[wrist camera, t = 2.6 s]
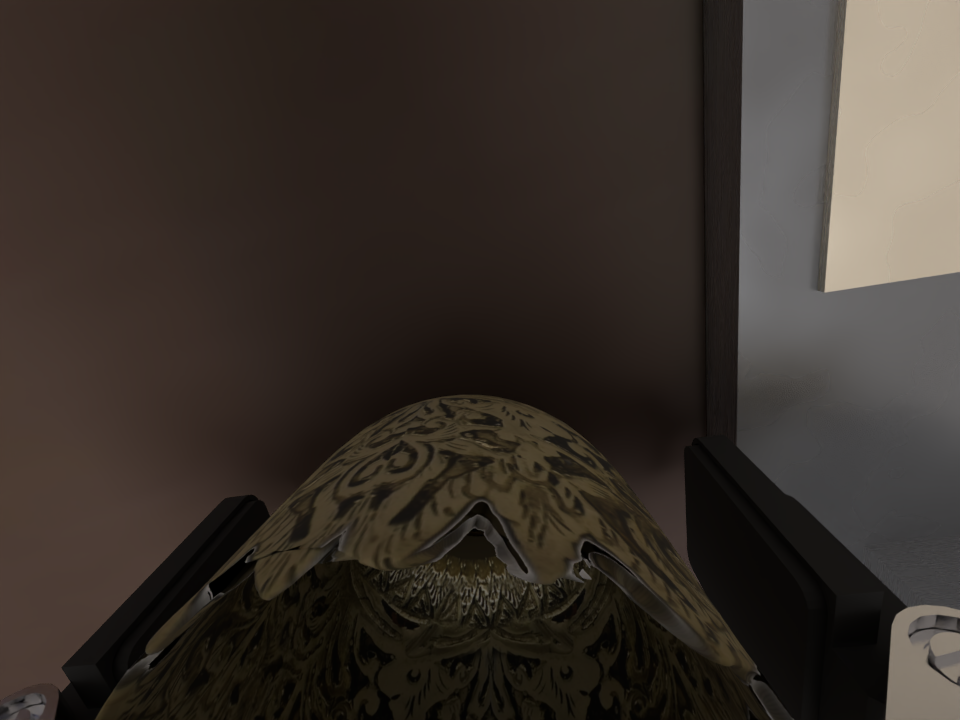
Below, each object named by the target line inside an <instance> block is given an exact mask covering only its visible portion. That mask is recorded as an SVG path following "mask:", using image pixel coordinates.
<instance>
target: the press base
mask: <svg viewBox="0 0 960 720" xmlns="http://www.w3.org/2000/svg"><path fill="white" fill-rule="evenodd" d="M703 35H704V146H705V256H706V367H707V437H708V436H716V435H725V436H726V437H728V438H729V439H730V440H731V441H732V442H733V443H734V444H735V445H736V446H737V447H738V448H739V449H740V450H741V451H742V452H743V453H744V454H745V455H746V456H747V457H748V458H749V459H750V460H751V461H752V462H753V463H754V464H755V465H756V466H757V467H758V468H759V469H760V470H761V471H762V472H763V473H764V474H765V475H766V476H767V477H768V478H769V479H770V480H771V481H772V482H773V483H774V484H775V485H776V486H777V487H778V488H779V489H780V490H781V491H782V492H783V493H785V494H786V495H790V496H792V497H793V498H795V499H796V500H797V501H798V502H800V503H801V504H802V505H803V506H804V507H805V508H806V509H807V510H808V511H809V512H810V513H811V514H812V515H813V516H814V517H815V518H816V519H817V520H818V521H819V522H820V523H821V524H822V525H823V526H824V527H825V528H826V529H827V530H829V531H830V532H831V533H832V534H833V535H834V536H835V537H836V538H837V539H838V540H839V541H840V542H841V543H842V544H843V545H844V546H845V547H846V548H847V549H848V550H849V551H850V552H851V553H852V554H853V555H854V556H855V557H856V558H858V559H859V560H860V561H861V562H862V563H863V564H864V565H865V566H866V567H867V568H868V569H869V570H870V571H871V572H872V573H873V574H874V575H875V576H876V577H877V578H878V579H879V580H880V581H881V582H882V583H883V584H884V585H885V586H886V587H888V588H889V589H890V590H891V591H892V592H893V593H894V594H895V595H896V596H897V597H898V598H899V599H900V600H901V601H902V602H903V603H904V604H905V605H906V606H907V607H914V606H920V605H932V606H945V607H949V608H953V609H957V610H960V0H703ZM767 714H768V712H767ZM768 715H769V714H768ZM769 716H770V715H769ZM770 718H771V716H770ZM771 719H772V718H771Z"/></svg>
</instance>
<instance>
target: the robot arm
mask: <svg viewBox="0 0 960 720" xmlns="http://www.w3.org/2000/svg"><path fill="white" fill-rule="evenodd" d="M684 464H685V494H686V524H687V551H688V557H689V561H690V564H691V566H692V569H693V571H694V573H695V574H696V576H697V578H698V580H699V582H700V584H701V586H702V587H703V589H704V591H705V593H706V595H707V596H708V598H709V599H710V601H711V602H712V603H713V605H714V606H715V608H716V609H717V611H718V612H719V614H720V615H721V616H722V618H723V619H724V621H725V622H726V624H727V625H728V627H729V628H730V630H731V631H732V632H733V634H734V635H735V637H736V638H737V640H738V641H739V643H740V644H741V645H742V647H743V648H744V650H745V651H746V652H747V654H748V655H749V656H750V658H751V659H752V660H753V662H754V663H755V664H756V666H757V667H758V668H759V670H760V671H761V672H762V674H763V675H764V677H765V678H766V679H767V681H768V682H769V684H770V685H771V686H772V688H773V689H774V691H775V692H776V694H777V695H778V696H779V698H780V699H781V701H782V702H783V704H784V705H785V707H786V708H787V710H788V711H789V713H790V714H791V715H792V717H793V718H794V720H960V610H957V609H953V608H949V607H945V606H932V605H920V606H914V607H907V606H906V605H905V604H904V603H903V602H902V601H901V600H900V599H899V598H898V597H897V596H896V595H895V594H894V593H893V592H892V591H891V590H890V589H889V588H888V587H886V586H885V585H884V584H883V583H882V582H881V581H880V580H879V579H878V578H877V577H876V576H875V575H874V574H873V573H872V572H871V571H870V570H869V569H868V568H867V567H866V566H865V565H864V564H863V563H862V562H861V561H860V560H859V559H858V558H856V557H855V556H854V555H853V554H852V553H851V552H850V551H849V550H848V549H847V548H846V547H845V546H844V545H843V544H842V543H841V542H840V541H839V540H838V539H837V538H836V537H835V536H834V535H833V534H832V533H831V532H830V531H829V530H827V529H826V528H825V527H824V526H823V525H822V524H821V523H820V522H819V521H818V520H817V519H816V518H815V517H814V516H813V515H812V514H811V513H810V512H809V511H808V510H807V509H806V508H805V507H804V506H803V505H802V504H801V503H800V502H798V501H797V500H796V499H795V498H793V497H792V496H790V495H786V494H785V493H783V492H782V491H781V490H780V489H779V488H778V487H777V486H776V485H775V484H774V483H773V482H772V481H771V480H770V479H769V478H768V477H767V476H766V475H765V474H764V473H763V472H762V471H761V470H760V469H759V468H758V467H757V466H756V465H755V464H754V463H753V462H752V461H751V460H750V459H749V458H748V457H747V456H746V455H745V454H744V453H743V452H742V451H741V450H740V449H739V448H738V447H737V446H736V445H735V444H734V443H733V442H732V441H731V440H730V439H729V438H728V437H726V436H725V435H716V436H708V437H700V438H695V439H694V440H693V442H692V446H686V447H685V450H684ZM269 517H270V516H269V513H268V510H267V508H266V505H265V504H264V502H263V501H261V500H258V498H257V497H255V496H254V495H245V496H237V497H230V498H225V499H224V500H223V501H222V502H221V503H220V504H219V505H218V506H217V507H216V508H215V509H214V510H213V511H212V512H211V513H210V514H209V515H208V516H207V517H206V518H205V519H204V520H203V521H202V522H201V523H200V524H199V525H198V526H197V527H196V529H195V530H194V531H193V532H192V533H191V534H190V535H189V536H188V537H187V538H186V539H185V540H184V541H183V542H182V543H181V544H180V545H179V546H178V547H177V548H176V549H175V550H174V551H173V552H172V553H171V554H170V555H169V557H168V558H167V559H166V560H165V561H164V562H163V563H162V564H161V565H160V566H159V567H158V568H157V569H156V570H155V571H154V572H153V573H152V574H151V575H150V576H149V577H148V578H147V579H146V580H145V581H144V582H143V583H142V585H141V586H140V587H139V588H138V589H137V590H136V591H135V592H134V593H133V594H132V595H131V596H130V597H129V598H128V599H127V600H126V601H125V602H124V603H123V604H122V605H121V606H120V607H119V608H118V609H117V610H116V612H115V613H114V614H113V615H112V616H111V617H110V618H109V619H108V620H107V621H106V622H105V623H104V624H103V625H102V626H101V627H100V628H99V629H98V630H97V631H96V632H95V633H94V634H93V635H92V636H91V637H90V638H89V640H88V641H87V642H86V643H85V644H84V645H83V646H82V647H81V648H80V649H79V650H78V651H77V652H76V653H75V654H74V655H73V656H72V657H71V658H70V659H69V660H68V661H67V662H66V663H65V664H64V665H63V666H62V669H63V671H64V672H65V674H66V676H67V677H68V679H69V680H70V682H71V683H70V684H69V685H68V686H67V687H66V688H65V689H64V690H63V691H62V693H61V692H60V691H59V689H58V688H57V687H56V686H54V685H53V684H38V685H34V686H31V687H27V688H24V689H22V690H20V691H18V692H16V693H13V694H11V695H9V696H7V697H5V698H4V699H2V700H0V720H95V719H96V717H97V715H98V714H99V712H100V710H101V709H102V707H103V705H104V704H105V702H106V701H107V699H108V698H109V696H110V695H111V693H112V692H113V690H114V689H115V687H116V686H117V684H118V683H119V681H120V680H121V678H122V677H123V676H124V674H125V673H126V672H127V670H128V669H129V668H130V667H131V666H132V665H133V664H134V663H135V662H136V661H137V660H138V659H139V658H140V657H141V656H142V655H143V653H144V652H145V649H146V646H147V644H148V642H149V641H150V639H151V638H152V637H153V636H154V635H155V633H156V632H157V631H158V630H159V629H160V628H161V627H162V626H163V625H164V624H165V623H166V622H167V621H168V620H169V619H170V618H171V617H172V616H173V615H174V614H175V613H176V612H177V611H178V610H180V609H181V608H182V607H183V606H184V605H185V604H186V603H187V602H188V601H189V600H190V599H191V598H192V597H193V596H194V595H195V594H196V593H197V592H198V591H199V590H200V589H201V588H202V587H203V586H204V585H205V584H206V583H207V582H208V581H209V580H210V579H211V578H212V577H213V576H214V575H215V574H216V573H217V571H218V570H219V569H220V568H221V567H222V566H223V565H224V564H225V563H226V562H227V561H228V560H229V559H230V558H231V557H232V556H233V555H234V554H235V553H236V552H237V551H238V550H239V548H240V547H241V546H242V545H243V544H244V543H245V542H246V541H247V540H248V539H249V538H250V537H251V536H252V535H253V534H254V533H255V532H256V531H257V530H258V529H259V528H260V527H261V526H262V525H263V524H264V523H265V522H266V521H267V519H268V518H269Z"/></svg>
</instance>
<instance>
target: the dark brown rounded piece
mask: <svg viewBox="0 0 960 720" xmlns="http://www.w3.org/2000/svg"><path fill="white" fill-rule="evenodd" d="M767 712H768V714H769V715H770V716H771V718H772V719H771V718H770V716H769V715H768V714H767ZM95 720H794V718H793V717H792V715H791V714H790V713H789V711H788V710H787V708H786V707H785V705H784V704H783V702H782V701H781V699H780V698H779V696H778V695H777V694H776V692H775V691H774V689H773V688H772V686H771V685H770V684H769V682H768V681H767V679H766V678H765V677H764V675H763V674H762V672H761V671H760V670H759V668H758V667H757V666H756V664H755V663H754V662H753V660H752V659H751V658H750V656H749V655H748V654H747V652H746V651H745V650H744V648H743V647H742V645H741V644H740V643H739V641H738V640H737V638H736V637H735V635H734V634H733V632H732V631H731V630H730V628H729V627H728V625H727V624H726V622H725V621H724V619H723V618H722V616H721V615H720V614H719V612H718V611H717V609H716V608H715V606H714V605H713V603H712V602H711V601H710V599H709V598H708V596H707V595H706V593H705V592H704V590H703V589H702V588H701V586H700V585H699V583H698V582H697V580H696V579H695V577H694V576H693V575H692V573H691V572H690V570H689V569H688V567H687V566H686V564H685V563H684V562H683V560H682V559H681V557H680V556H679V554H678V553H677V552H676V550H675V549H674V547H673V546H672V544H671V543H670V542H669V540H668V539H667V537H666V536H665V535H664V533H663V532H662V530H661V529H660V528H659V526H658V525H657V523H656V522H655V520H654V519H653V518H652V516H651V515H650V514H649V512H648V511H647V509H646V508H645V507H644V505H643V504H642V502H641V501H640V500H639V498H638V497H637V496H636V495H635V493H634V492H633V491H632V489H631V488H630V487H629V485H628V484H627V483H626V482H625V480H624V479H623V478H622V477H621V476H620V474H619V473H618V472H617V471H616V470H615V468H614V467H613V466H612V465H611V464H610V463H609V462H608V460H607V459H606V458H605V457H604V456H603V455H602V454H601V453H600V452H599V451H598V450H597V449H596V448H595V447H594V446H593V445H592V444H591V443H590V442H588V441H587V440H586V439H585V438H584V437H582V436H581V435H580V434H579V433H577V432H576V431H575V430H573V429H572V428H571V427H569V426H568V425H567V424H565V423H564V422H562V421H560V420H559V419H557V418H555V417H554V416H552V415H550V414H548V413H546V412H544V411H541V410H539V409H537V408H535V407H532V406H529V405H526V404H523V403H520V402H517V401H514V400H509V399H505V398H500V397H495V396H485V395H454V396H444V397H438V398H433V399H429V400H424V401H421V402H418V403H415V404H411V405H408V406H406V407H403V408H401V409H399V410H397V411H395V412H392V413H390V414H389V415H387V416H385V417H384V418H382V419H380V420H378V421H377V422H375V423H373V424H372V425H370V426H368V427H367V428H365V429H364V430H362V431H361V432H360V433H358V434H357V435H356V436H355V437H353V438H352V439H351V440H350V441H348V442H347V443H346V444H345V445H343V446H342V447H341V448H340V449H338V450H337V451H336V452H335V453H334V454H333V455H332V456H331V457H330V458H328V459H327V460H326V461H325V462H324V463H323V464H322V465H321V466H320V467H319V468H318V469H317V470H316V471H315V472H314V473H313V474H312V475H311V476H310V477H309V478H308V479H307V480H306V481H305V482H304V483H303V484H302V485H301V486H300V487H299V488H298V489H297V490H296V491H295V492H294V493H293V494H292V495H291V496H290V497H289V498H288V499H287V500H286V501H285V502H284V503H283V504H282V505H281V506H280V507H279V508H278V509H277V510H276V511H275V512H274V513H273V514H272V515H271V516H270V517H269V518H268V519H267V521H266V522H265V523H264V524H263V525H262V526H261V527H260V528H259V529H258V530H257V531H256V532H255V533H254V534H253V535H252V536H251V537H250V538H249V539H248V540H247V541H246V542H245V543H244V544H243V545H242V546H241V547H240V548H239V550H238V551H237V552H236V553H235V554H234V555H233V556H232V557H231V558H230V559H229V560H228V561H227V562H226V563H225V564H224V565H223V566H222V567H221V568H220V569H219V570H218V571H217V573H216V574H215V575H214V576H213V577H212V578H211V579H210V580H209V581H208V582H207V583H206V584H205V585H204V586H203V587H202V588H201V589H200V590H199V591H198V592H197V593H196V594H195V595H194V596H193V597H192V598H191V599H190V600H189V601H188V602H187V603H186V604H185V605H184V606H183V607H182V608H181V609H180V610H178V611H177V612H176V613H175V614H174V615H173V616H172V617H171V618H170V619H169V620H168V621H167V622H166V623H165V624H164V625H163V626H162V627H161V628H160V629H159V630H158V631H157V632H156V633H155V635H154V636H153V637H152V638H151V639H150V641H149V642H148V644H147V646H146V649H145V652H144V653H143V655H142V656H141V657H140V658H139V659H138V660H137V661H136V662H135V663H134V664H133V665H132V666H131V667H130V668H129V669H128V670H127V672H126V673H125V674H124V676H123V677H122V678H121V680H120V681H119V683H118V684H117V686H116V687H115V689H114V690H113V692H112V693H111V695H110V696H109V698H108V699H107V701H106V702H105V704H104V705H103V707H102V709H101V710H100V712H99V714H98V715H97V717H96V719H95Z"/></svg>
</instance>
